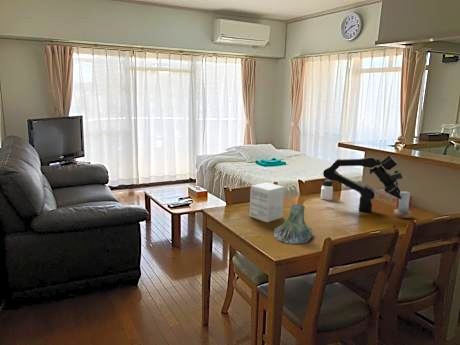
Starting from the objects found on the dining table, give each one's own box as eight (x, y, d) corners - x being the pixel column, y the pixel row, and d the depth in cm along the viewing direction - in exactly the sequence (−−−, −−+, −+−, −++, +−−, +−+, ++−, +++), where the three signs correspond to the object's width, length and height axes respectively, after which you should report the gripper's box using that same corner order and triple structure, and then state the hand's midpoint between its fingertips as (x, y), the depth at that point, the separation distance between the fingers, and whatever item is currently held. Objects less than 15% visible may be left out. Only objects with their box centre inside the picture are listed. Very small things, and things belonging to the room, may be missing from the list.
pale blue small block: (396, 211, 209) (399, 192, 207) (398, 209, 214) (401, 190, 211) (406, 213, 206) (409, 194, 204) (408, 211, 211) (411, 192, 208)
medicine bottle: (332, 200, 239) (333, 182, 237) (321, 199, 241) (322, 181, 238) (331, 197, 246) (333, 179, 244) (320, 196, 247) (322, 179, 245)
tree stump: (264, 238, 173) (269, 200, 173) (284, 236, 189) (289, 201, 189) (299, 247, 162) (304, 206, 162) (318, 244, 177) (323, 207, 178)
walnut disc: (395, 217, 207) (395, 212, 207) (392, 213, 216) (393, 208, 215) (412, 219, 205) (413, 214, 205) (409, 214, 214) (409, 209, 213)
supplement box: (264, 211, 211) (266, 181, 207) (282, 217, 202) (284, 186, 198) (248, 216, 202) (250, 185, 198) (267, 222, 192) (269, 190, 189)
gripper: (394, 169, 199) (413, 192, 197) (395, 164, 216) (413, 185, 214) (376, 181, 204) (395, 203, 202) (379, 175, 221) (396, 196, 219)
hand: (401, 196), depth 209 cm, fingers open, 9 cm apart
